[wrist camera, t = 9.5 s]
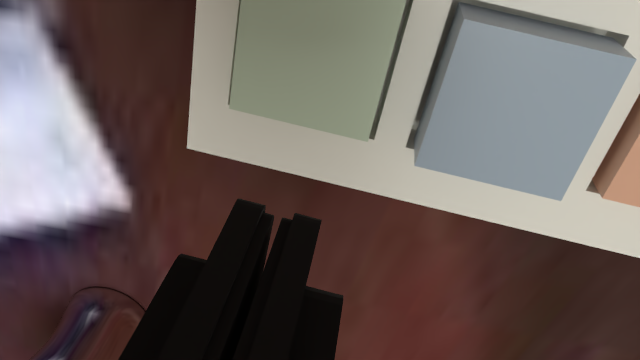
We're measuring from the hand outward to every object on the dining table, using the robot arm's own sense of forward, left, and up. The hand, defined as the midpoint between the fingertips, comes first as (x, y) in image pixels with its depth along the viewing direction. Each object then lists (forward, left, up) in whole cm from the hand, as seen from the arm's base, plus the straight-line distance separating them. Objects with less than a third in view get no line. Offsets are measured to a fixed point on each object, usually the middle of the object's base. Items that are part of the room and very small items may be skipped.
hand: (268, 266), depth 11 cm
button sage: (0, -1, -15) cm, 15 cm away
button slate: (0, +7, -14) cm, 15 cm away
